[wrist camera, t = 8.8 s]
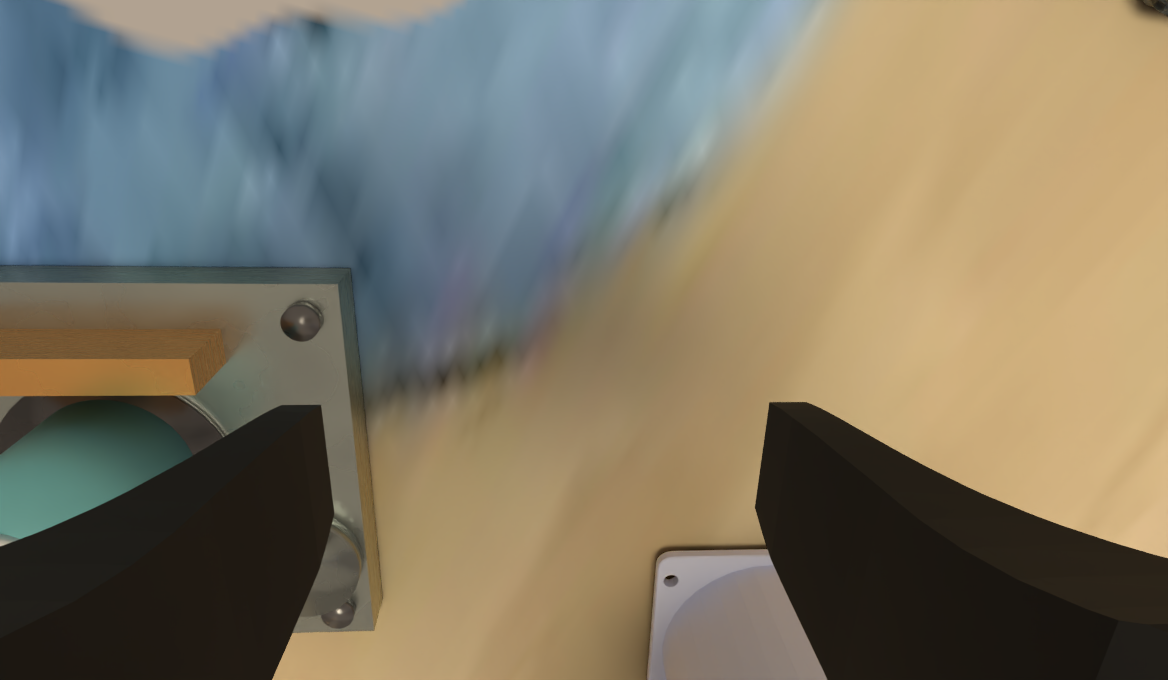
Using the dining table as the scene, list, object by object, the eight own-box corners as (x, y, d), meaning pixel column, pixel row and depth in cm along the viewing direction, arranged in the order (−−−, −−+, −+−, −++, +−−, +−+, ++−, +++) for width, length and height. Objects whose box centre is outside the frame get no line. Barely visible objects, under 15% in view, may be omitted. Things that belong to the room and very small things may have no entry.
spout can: (202, 539, 22) (84, 717, 16) (43, 526, 22) (-136, 706, 16) (194, 408, 21) (59, 555, 15) (21, 391, 20) (-188, 537, 14)
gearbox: (382, 598, 26) (360, 679, 22) (52, 606, 25) (-20, 691, 22) (350, 268, 21) (317, 309, 18) (-56, 265, 20) (-166, 308, 17)
